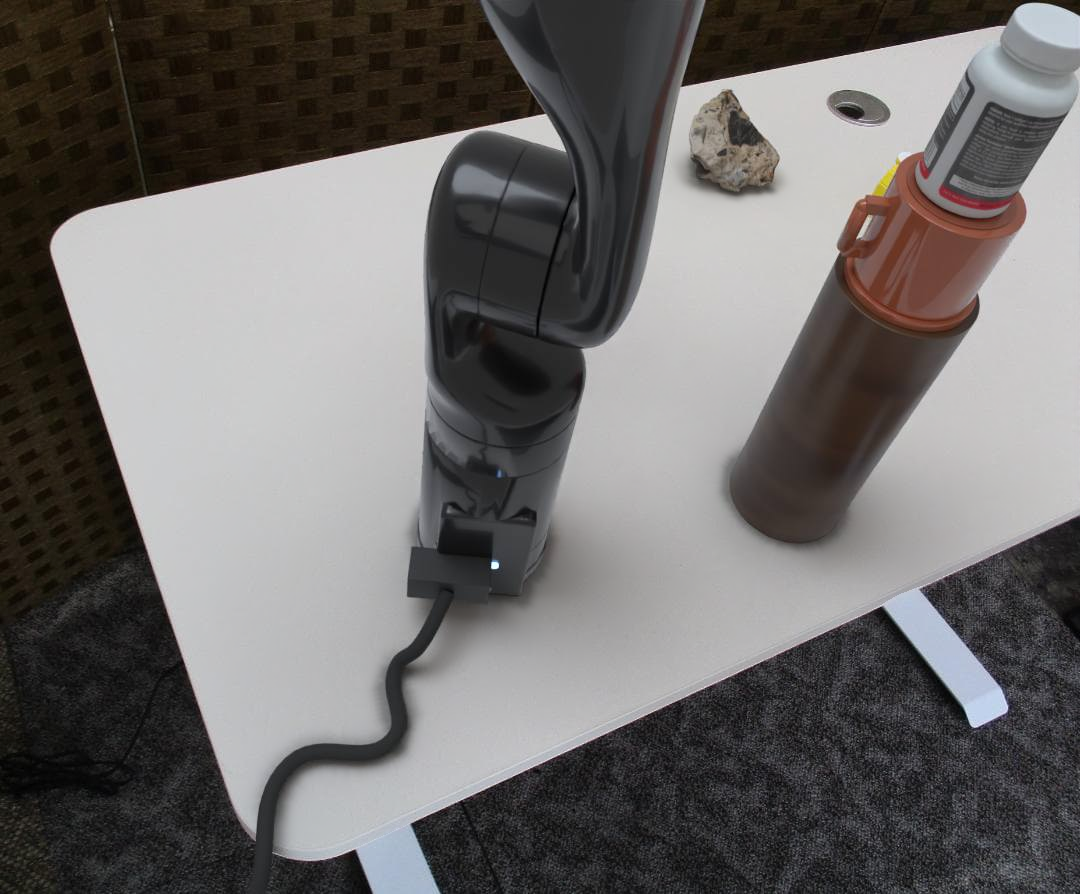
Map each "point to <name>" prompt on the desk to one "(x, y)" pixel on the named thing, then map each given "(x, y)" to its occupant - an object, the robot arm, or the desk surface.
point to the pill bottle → (1003, 113)
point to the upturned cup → (922, 254)
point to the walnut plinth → (834, 412)
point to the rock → (730, 145)
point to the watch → (889, 175)
